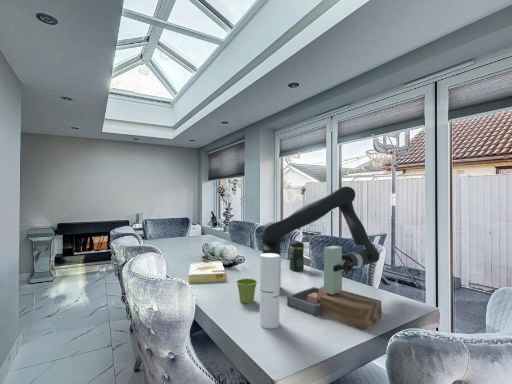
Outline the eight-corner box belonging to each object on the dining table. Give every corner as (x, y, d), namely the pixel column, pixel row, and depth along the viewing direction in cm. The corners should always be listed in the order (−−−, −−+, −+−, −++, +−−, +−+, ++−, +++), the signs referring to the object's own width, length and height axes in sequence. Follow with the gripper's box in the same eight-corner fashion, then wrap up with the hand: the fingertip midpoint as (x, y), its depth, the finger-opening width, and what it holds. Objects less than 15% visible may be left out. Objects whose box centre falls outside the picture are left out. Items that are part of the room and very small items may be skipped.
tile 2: (327, 292, 114) (320, 287, 116) (322, 302, 115) (316, 296, 117) (333, 290, 117) (327, 284, 119) (329, 299, 118) (322, 294, 121)
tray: (316, 316, 109) (316, 306, 109) (287, 305, 120) (287, 296, 120) (342, 304, 122) (342, 295, 122) (313, 295, 133) (313, 286, 133)
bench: (364, 331, 97) (364, 310, 97) (320, 314, 110) (320, 296, 111) (381, 319, 107) (381, 300, 107) (339, 305, 120) (339, 289, 120)
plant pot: (241, 306, 118) (241, 285, 119) (232, 299, 127) (233, 280, 127) (260, 302, 123) (261, 283, 123) (251, 296, 131) (251, 277, 131)
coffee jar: (305, 271, 177) (305, 241, 177) (294, 272, 174) (294, 242, 175) (298, 267, 186) (299, 239, 186) (287, 268, 184) (288, 240, 184)
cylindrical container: (258, 320, 105) (259, 253, 106) (277, 319, 106) (278, 253, 106) (260, 328, 98) (261, 257, 99) (280, 328, 99) (281, 257, 99)
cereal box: (221, 260, 182) (226, 271, 154) (222, 268, 182) (226, 281, 154) (189, 262, 177) (188, 274, 150) (189, 271, 177) (188, 284, 150)
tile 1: (307, 295, 120) (307, 303, 120) (317, 298, 117) (317, 306, 117) (314, 292, 124) (314, 300, 124) (324, 295, 120) (324, 303, 120)
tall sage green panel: (332, 294, 111) (332, 248, 111) (323, 292, 113) (323, 247, 114) (341, 290, 115) (341, 246, 116) (333, 288, 118) (333, 245, 119)
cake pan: (202, 268, 182) (202, 261, 182) (199, 260, 206) (199, 254, 206) (239, 266, 189) (239, 259, 189) (231, 258, 213) (231, 252, 213)
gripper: (336, 250, 130) (314, 255, 118) (366, 255, 119) (345, 261, 108) (336, 267, 129) (314, 273, 118) (366, 273, 119) (345, 281, 107)
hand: (329, 267), depth 113 cm, fingers closed on tall sage green panel, 4 cm apart
